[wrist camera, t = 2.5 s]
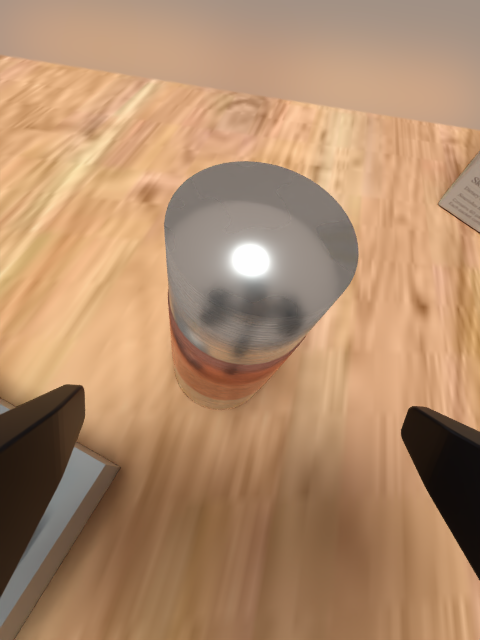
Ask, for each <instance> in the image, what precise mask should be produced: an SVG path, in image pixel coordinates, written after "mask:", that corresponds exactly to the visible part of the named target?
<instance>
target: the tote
mask: <svg viewBox="0 0 480 640" xmlns="http://www.w3.org/2000/svg"><path fill="white" fill-rule="evenodd" d="M13 408H15V406H13V405H12V404H10V403H8V402H7V401H5V400H3V399H1V398H0V414H2V413H4V412H6V411H9V410H11V409H13ZM120 468H121V467H120V466H118V465H116V464H114V463H113V462H111V461H109V460H107V459H106V458H104V457H102V456H100V455H99V454H97V453H95V452H93V451H92V450H90V449H88V448H87V447H85V446H83V445H81V444H80V443H78V442H76V443H75V446H74V449H73V451H72V454H71V457H70V459H69V462H68V464H67V467H66V470H65V472H64V475H63V477H62V479H61V481H60V483H59V485H58V488H57V490H56V491H55V493H54V495H53V497H52V499H51V501H50V503H49V505H48V507H47V509H46V511H45V513H44V515H43V517H42V519H41V521H40V522H39V524H38V526H37V528H36V530H35V532H34V534H33V536H32V538H31V540H30V542H29V544H28V546H27V548H26V550H25V552H24V553H23V555H22V557H21V559H20V561H19V563H18V565H17V567H16V569H15V571H14V573H13V575H12V577H11V579H10V581H9V583H8V585H7V586H6V588H5V590H4V592H3V594H2V596H1V598H0V640H14V639H15V637H16V635H17V634H18V632H19V630H20V629H21V627H22V626H23V624H24V622H25V621H26V619H27V618H28V616H29V614H30V613H31V611H32V610H33V608H34V606H35V605H36V603H37V601H38V600H39V598H40V597H41V595H42V593H43V592H44V590H45V589H46V587H47V585H48V584H49V582H50V581H51V579H52V577H53V576H54V574H55V572H56V571H57V569H58V568H59V566H60V564H61V563H62V561H63V560H64V558H65V556H66V555H67V553H68V552H69V550H70V548H71V547H72V545H73V543H74V542H75V540H76V539H77V537H78V535H79V534H80V532H81V531H82V529H83V527H84V526H85V524H86V523H87V521H88V519H89V518H90V516H91V514H92V513H93V511H94V510H95V508H96V506H97V505H98V503H99V502H100V500H101V498H102V497H103V495H104V494H105V492H106V490H107V489H108V487H109V485H110V484H111V482H112V481H113V479H114V477H115V476H116V474H117V473H118V471H119V469H120Z"/></svg>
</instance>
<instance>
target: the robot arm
mask: <svg viewBox="0 0 480 640" xmlns="http://www.w3.org/2000/svg"><path fill="white" fill-rule="evenodd" d="M84 418H85V393H84V388H83V386H81V385H70V384H66V385H63V386H61V387H59V388H57V389H54V390H52V391H50V392H48V393H46V394H44V395H41V396H39V397H37V398H35V399H33V400H30V401H28V402H26V403H24V404H22V405H20V406H17V407H15V408H13V409H11V410H9V411H6V412H4V413H2V414H0V598H1V596H2V594H3V592H4V590H5V588H6V586H7V585H8V583H9V581H10V579H11V577H12V575H13V573H14V571H15V569H16V567H17V565H18V563H19V561H20V559H21V557H22V555H23V553H24V552H25V550H26V548H27V546H28V544H29V542H30V540H31V538H32V536H33V534H34V532H35V530H36V528H37V526H38V524H39V522H40V521H41V519H42V517H43V515H44V513H45V511H46V509H47V507H48V505H49V503H50V501H51V499H52V497H53V495H54V493H55V491H56V490H57V488H58V485H59V483H60V481H61V479H62V477H63V475H64V472H65V470H66V467H67V464H68V462H69V459H70V457H71V454H72V451H73V449H74V446H75V443H76V441H77V438H78V436H79V433H80V430H81V428H82V425H83V422H84ZM401 436H402V439H403V442H404V444H405V446H406V448H407V450H408V452H409V454H410V456H411V458H412V461H413V463H414V465H415V467H416V469H417V471H418V473H419V475H420V477H421V480H422V482H423V484H424V485H425V487H426V489H427V491H428V493H429V495H430V497H431V498H432V500H433V502H434V503H435V505H436V507H437V508H438V510H439V512H440V514H441V515H442V517H443V519H444V520H445V522H446V524H447V526H448V527H449V529H450V531H451V532H452V534H453V536H454V538H455V539H456V541H457V543H458V544H459V546H460V548H461V549H462V551H463V553H464V555H465V556H466V558H467V560H468V561H469V563H470V565H471V567H472V568H473V570H474V572H475V573H476V575H477V577H478V578H479V580H480V432H479V431H477V430H475V429H473V428H470V427H468V426H466V425H464V424H462V423H460V422H457V421H455V420H453V419H451V418H449V417H447V416H444V415H442V414H440V413H438V412H436V411H434V410H431V409H429V408H427V407H420V406H412V407H410V408H409V409H408V412H407V415H406V417H405V420H404V423H403V426H402V429H401Z"/></svg>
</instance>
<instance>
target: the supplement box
mask: <svg viewBox="0 0 480 640" xmlns="http://www.w3.org/2000/svg"><path fill="white" fill-rule="evenodd" d="M438 205H440V206H441V207H443V208H444V209H446V210H448V211H449V212H450V213H452V214H453V215H455V216H456V217H458V218H459V219H460V220H462V221H463V222H465V223H466V224H468V225H469V226H471V227H472V228H474V229H475V230H477V231H478V232H480V151H479V152H478V154H477V155H476V156H475V157H474V159H473V160H472V161H471V162H470V164H469V165H468V166H467V167H466V168H465V170H464V171H463V172H462V173H461V175H460V176H459V177H458V178H457V179H456V181H455V182H454V183H453V184H452V186H451V187H450V188H449V189H448V191H447V192H446V193H445V194H444V196H443V197H442V198H441V200H440V201H439V203H438Z"/></svg>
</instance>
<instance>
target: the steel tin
mask: <svg viewBox="0 0 480 640" xmlns="http://www.w3.org/2000/svg"><path fill="white" fill-rule="evenodd" d="M164 229H165V245H166V259H167V273H168V288H169V289H168V305H169V318H170V331H171V344H172V355H173V361H174V371H175V376H176V379H177V382H178V384H179V386H180V388H181V389H182V391H183V392H184V393H185V394H186V395H187V397H189V398H190V399H191V400H192V401H194V402H195V403H197V404H199V405H201V406H203V407H206V408H209V409H215V410H225V409H231V408H235V407H237V406H240V405H242V404H243V403H245V402H247V401H248V400H249V399H250V398H251V397H252V396H253V395H254V394H255V393H256V392H257V391H258V390H259V389H260V388H261V387H262V386H263V385H264V384H265V383H266V382H267V381H268V380H269V378H270V377H271V376H272V375H273V374H274V373H275V372H276V371H277V369H278V368H279V367H280V366H281V365H282V364H283V363H284V362H285V360H286V359H287V358H288V357H289V356H290V355H291V354H292V352H293V351H294V350H295V349H296V348H297V347H298V346H299V345H300V343H301V342H302V341H303V339H304V338H305V336H306V335H307V333H308V332H309V331H310V330H311V329H312V328H313V327H314V325H315V324H316V323H317V322H318V321H319V320H320V319H321V317H322V316H323V315H324V314H325V313H326V312H327V310H328V309H329V308H330V307H331V306H332V305H333V304H334V302H335V301H336V300H337V299H338V298H339V297H340V296H341V294H342V293H343V292H344V291H345V289H346V288H347V287H348V285H349V284H350V282H351V280H352V278H353V276H354V274H355V271H356V267H357V263H358V243H357V238H356V234H355V231H354V228H353V226H352V224H351V222H350V220H349V218H348V216H347V215H346V213H345V212H344V210H343V209H342V207H341V206H340V205H339V204H338V202H337V201H336V200H335V199H334V198H333V197H332V196H331V195H330V194H329V193H328V192H326V191H325V190H324V189H323V188H321V187H320V186H319V185H317V184H316V183H314V182H313V181H311V180H310V179H308V178H306V177H304V176H302V175H300V174H298V173H296V172H294V171H291V170H289V169H286V168H283V167H280V166H276V165H272V164H267V163H260V162H248V161H243V162H230V163H223V164H219V165H215V166H212V167H209V168H207V169H204V170H202V171H200V172H198V173H196V174H195V175H193V176H192V177H190V178H189V179H187V180H186V181H185V182H184V183H183V184H182V185H181V186H180V187H179V188H178V189H177V191H176V192H175V193H174V195H173V197H172V198H171V200H170V202H169V204H168V208H167V211H166V215H165V222H164Z"/></svg>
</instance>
